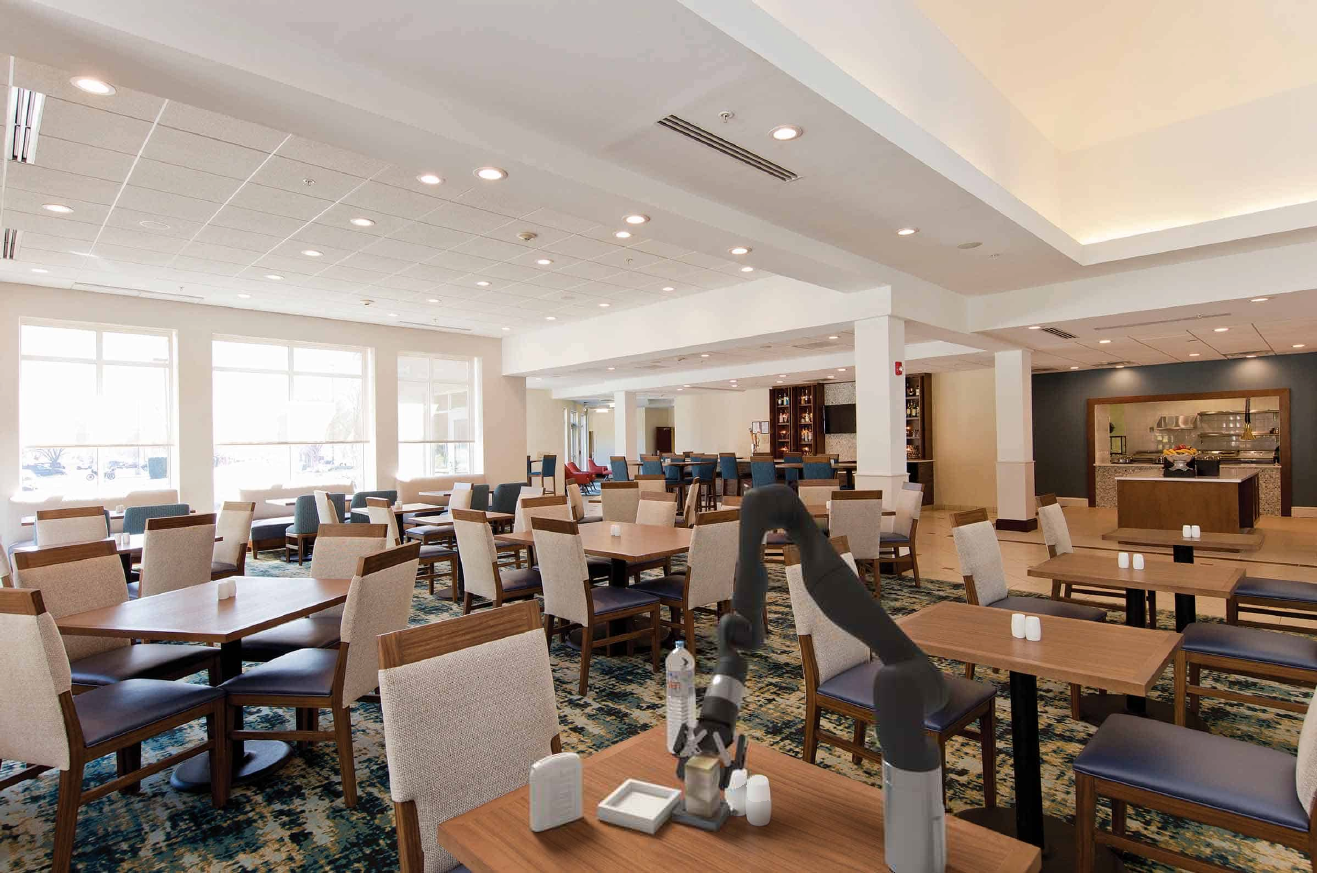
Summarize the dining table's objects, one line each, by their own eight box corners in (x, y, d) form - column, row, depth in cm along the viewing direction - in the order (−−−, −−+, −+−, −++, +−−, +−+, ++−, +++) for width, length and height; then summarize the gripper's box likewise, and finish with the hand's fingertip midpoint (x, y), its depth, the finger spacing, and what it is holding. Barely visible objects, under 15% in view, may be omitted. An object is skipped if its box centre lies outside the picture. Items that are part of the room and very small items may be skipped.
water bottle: (662, 747, 159) (660, 640, 160) (688, 742, 162) (685, 636, 163) (675, 759, 153) (672, 647, 154) (702, 753, 156) (699, 643, 157)
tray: (681, 803, 133) (681, 790, 133) (653, 834, 123) (652, 820, 123) (629, 791, 139) (628, 778, 139) (597, 819, 128) (597, 805, 128)
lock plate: (734, 808, 131) (733, 800, 131) (716, 832, 123) (715, 823, 123) (691, 798, 135) (691, 791, 135) (671, 820, 127) (671, 812, 127)
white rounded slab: (576, 808, 132) (575, 744, 133) (586, 818, 129) (585, 752, 129) (526, 825, 127) (525, 758, 127) (535, 836, 123) (534, 767, 124)
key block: (720, 811, 130) (719, 758, 130) (710, 824, 126) (708, 769, 126) (696, 806, 132) (695, 754, 133) (685, 818, 128) (684, 764, 128)
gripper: (684, 689, 140) (660, 769, 130) (750, 699, 133) (730, 784, 123) (696, 707, 145) (673, 785, 134) (759, 717, 138) (741, 800, 127)
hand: (700, 784), depth 128 cm, fingers open, 8 cm apart
